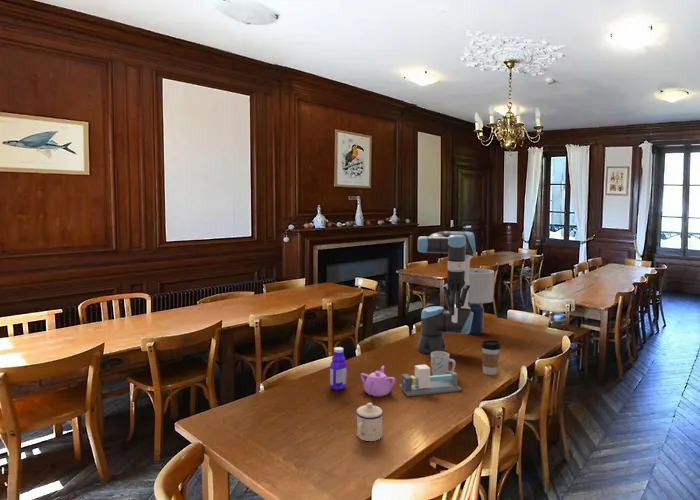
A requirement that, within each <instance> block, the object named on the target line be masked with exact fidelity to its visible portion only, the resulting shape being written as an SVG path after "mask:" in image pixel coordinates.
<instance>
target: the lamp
mask: <svg viewBox="0 0 700 500" xmlns="http://www.w3.org/2000/svg"><path fill="white" fill-rule="evenodd" d="M494 283H495V271H494V270H493V269H492V270H491V269H489V268H488V269H486V268H478V267H476V268H474V267H470V269H469V286H470V288H469V293H468V306H469V307H470V308H471V312H473V319H472V325H471V330H470V333H468V335H475V336H477V335H481V334H483V332H484V320H485V319H484V318H485V315H484V313H485V308H484V306H482V304H489V303H493V301H494V285H495V284H494Z"/></svg>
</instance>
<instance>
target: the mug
mask: <svg viewBox="0 0 700 500" xmlns="http://www.w3.org/2000/svg"><path fill="white" fill-rule="evenodd" d="M450 362H451V363H452V368H451V370H449V364H450ZM456 363H457V362H456V360H455V359H453V358H450V353H449V352H447V351H446V352H443V351H434V352H431V354H430V366H431V367H430V368H431V373H432V376H433V375H444V374H450V372H455V368H456V365H457V364H456Z"/></svg>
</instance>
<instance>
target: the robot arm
mask: <svg viewBox="0 0 700 500" xmlns="http://www.w3.org/2000/svg"><path fill="white" fill-rule="evenodd" d="M475 239H476V238H475V234H474V232H473V231H472V232H471V231H466V230H465V231H456V230H455V231H448V230H446V231H445V230H444V231H438V232H434V233H431V234H430V235H429V236H426V235H424V236H419V237H418V238H417V251H418V252H419V253H424V254H425V253H426V254H429V253H430V254H447V274H446V276H447V278H446V279H447V281H446V283H445V284H444V285H441V286H440V287H441V289H442V292H443V295H444V300H445V305H446V307H447V310H446V309H445V308H444V307H443V306H438V305H437V306H428V307H425V308H423V309H422V310H421V316H420V319H421V321H420V337H419V339H418V341H417V342H418V343H417V349H416V350H417V351H418V352H419V353H422V354H426V355H431V352H434V351H443V352H447V345H446V342H445V340H444V339H445V338H444V333H447V334H448V333H449V334H450V333H451V334H459V335H462V334H463V335H469V333H470V330H471V325H472V319H473V312H471V308H470V307H469V306H468V305H469V302H468V293H469V288H470V286H469V269H470V268H471V266H470V264H471V260H472V259H473V257H474V255H475V254H476V253H477V252H476V240H475ZM448 289H449V290H448Z"/></svg>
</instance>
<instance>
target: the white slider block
mask: <svg viewBox="0 0 700 500" xmlns="http://www.w3.org/2000/svg"><path fill="white" fill-rule="evenodd" d="M430 376H431V367H429V366H428V365H427V364H417V365H414V377H417V378H418V383H415V385H418V388H419V389H422V388H430Z"/></svg>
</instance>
